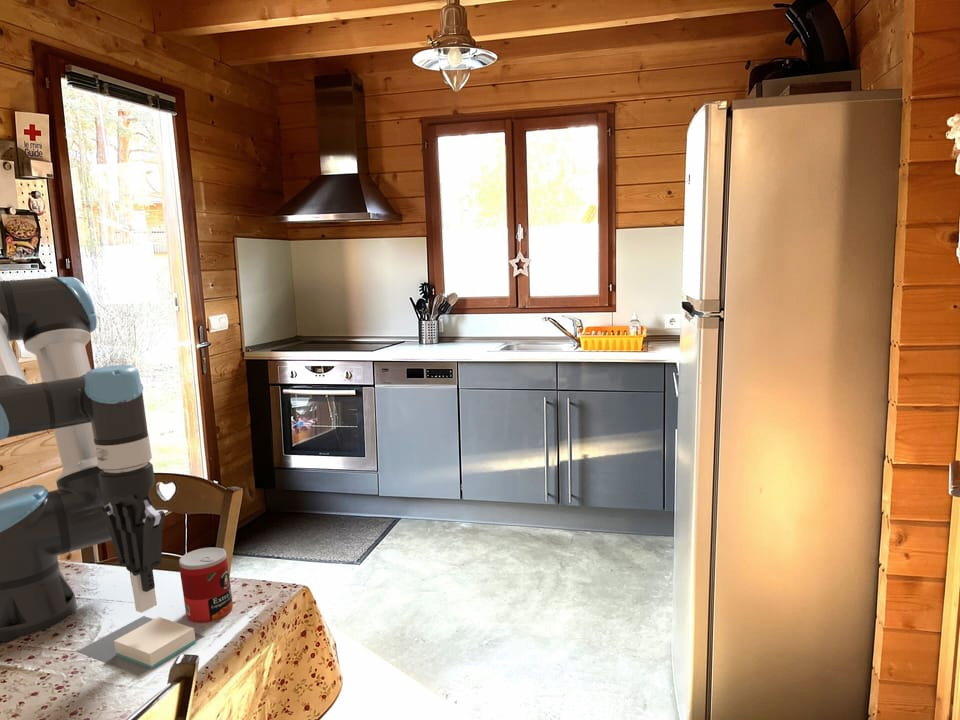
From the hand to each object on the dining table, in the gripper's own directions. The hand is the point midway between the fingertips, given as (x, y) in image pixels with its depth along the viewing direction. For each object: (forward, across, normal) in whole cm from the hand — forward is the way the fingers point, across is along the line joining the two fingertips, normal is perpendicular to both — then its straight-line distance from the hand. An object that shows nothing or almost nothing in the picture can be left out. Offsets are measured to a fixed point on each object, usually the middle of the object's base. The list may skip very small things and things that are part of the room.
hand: (146, 607), depth 113 cm
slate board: (+8, -3, 0) cm, 8 cm away
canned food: (+8, -1, +12) cm, 14 cm away
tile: (+6, -4, 0) cm, 7 cm away
